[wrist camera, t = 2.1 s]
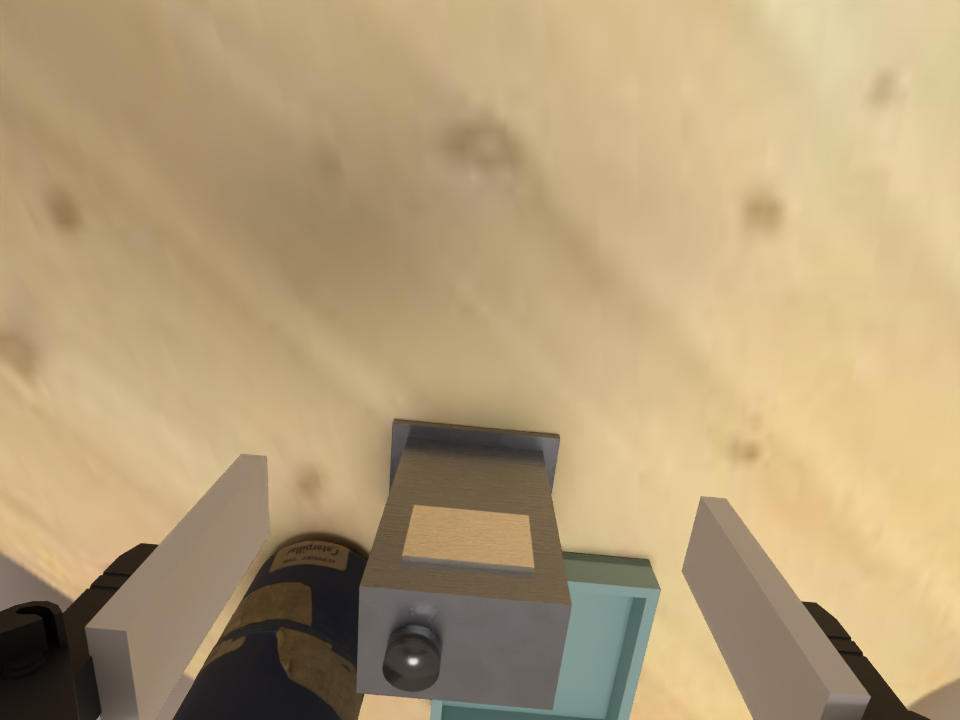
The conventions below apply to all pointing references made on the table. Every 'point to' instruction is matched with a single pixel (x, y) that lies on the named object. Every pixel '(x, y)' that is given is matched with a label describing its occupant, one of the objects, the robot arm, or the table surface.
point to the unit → (466, 571)
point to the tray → (590, 644)
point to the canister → (288, 643)
